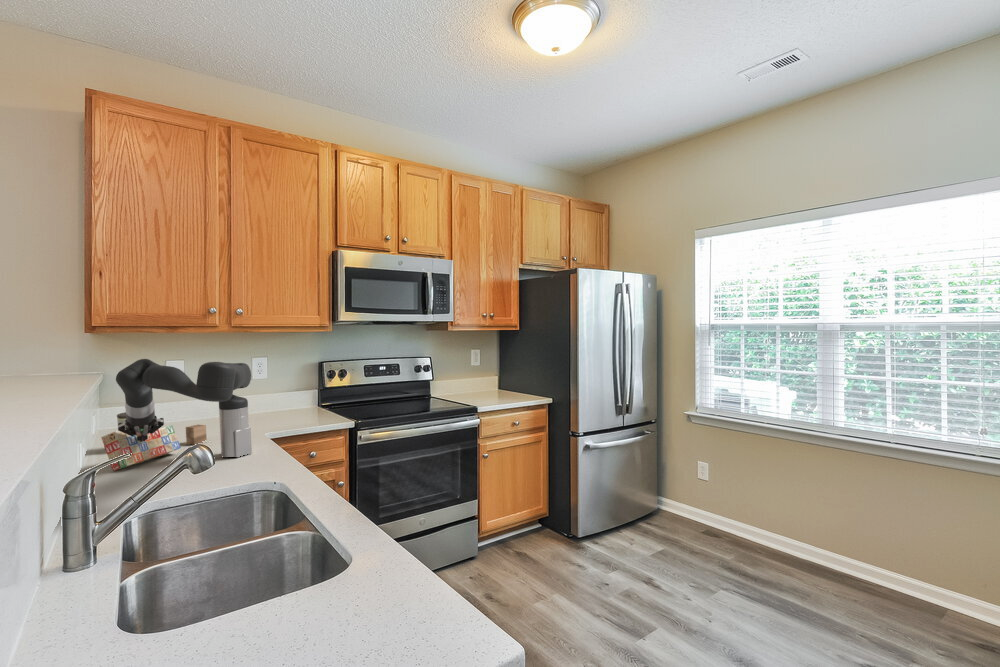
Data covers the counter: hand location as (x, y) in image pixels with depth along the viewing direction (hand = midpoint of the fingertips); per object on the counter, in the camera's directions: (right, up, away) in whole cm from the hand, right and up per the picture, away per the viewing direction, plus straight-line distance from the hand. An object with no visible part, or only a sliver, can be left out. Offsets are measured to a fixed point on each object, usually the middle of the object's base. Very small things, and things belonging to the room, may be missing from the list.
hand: (142, 439), depth 169 cm
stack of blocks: (0, -8, +3) cm, 9 cm away
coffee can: (-20, -9, +23) cm, 32 cm away
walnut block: (+1, -8, +29) cm, 30 cm away
